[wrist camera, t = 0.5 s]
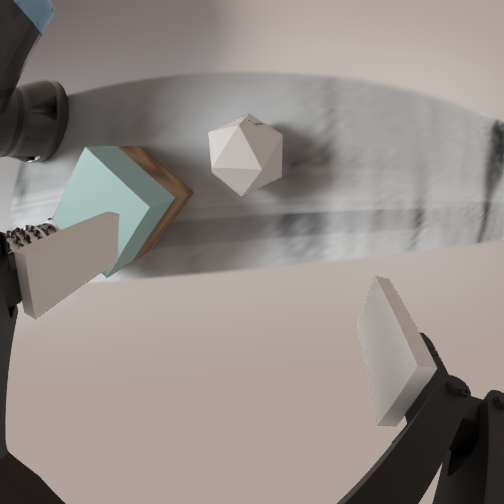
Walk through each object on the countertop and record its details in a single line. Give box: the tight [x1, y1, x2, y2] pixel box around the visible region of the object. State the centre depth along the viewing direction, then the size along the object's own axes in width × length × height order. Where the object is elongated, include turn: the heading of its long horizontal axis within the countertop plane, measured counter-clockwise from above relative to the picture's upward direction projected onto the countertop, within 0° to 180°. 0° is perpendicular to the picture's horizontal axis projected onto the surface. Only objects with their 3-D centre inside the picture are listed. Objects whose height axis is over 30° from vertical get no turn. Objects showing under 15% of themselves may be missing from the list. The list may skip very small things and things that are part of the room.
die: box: [208, 114, 283, 197], centre depth 32 cm, size 8×9×10 cm
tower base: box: [118, 146, 193, 261], centre depth 37 cm, size 10×10×6 cm
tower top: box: [53, 146, 175, 278], centre depth 32 cm, size 10×10×6 cm
